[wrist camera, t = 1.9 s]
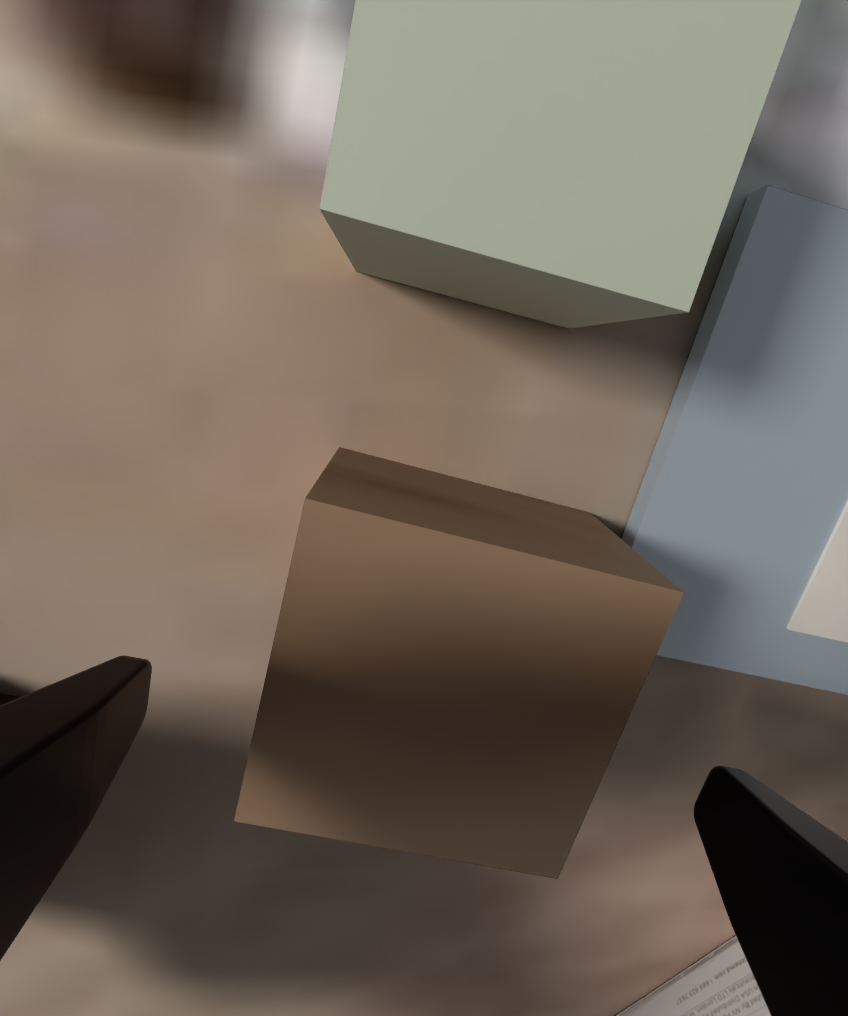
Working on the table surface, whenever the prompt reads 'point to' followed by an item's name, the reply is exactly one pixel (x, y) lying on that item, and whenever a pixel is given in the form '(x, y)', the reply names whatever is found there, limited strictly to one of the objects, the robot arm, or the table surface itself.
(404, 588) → the walnut block
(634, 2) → the sage block
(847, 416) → the board
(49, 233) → the table surface
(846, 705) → the table surface
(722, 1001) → the skincare box
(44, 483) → the table surface
